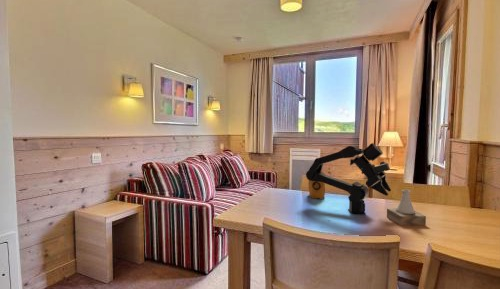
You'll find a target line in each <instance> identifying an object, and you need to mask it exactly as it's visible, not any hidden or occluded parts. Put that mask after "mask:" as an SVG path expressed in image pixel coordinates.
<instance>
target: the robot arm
mask: <svg viewBox="0 0 500 289" xmlns="http://www.w3.org/2000/svg"><path fill="white" fill-rule="evenodd" d="M383 154H384V152H383V151H382V150H381V148H380V147H378V146H377V145H375V143H373V142H372V143H370V144H369V145H368V146H367V147H366V148H359V147H358V146H357V145H349V146H346V147H344V148H343V149H340V150H339V151H336V152H334V153H331V154H328V155H324V156H321V157H317V158H315V159H314V161H313V163H312V164H311V166H310V167H309V168H308V170H307V171H306V173H305V177H306V179H307V180H308V181H309V180H310V181H315V182H323V183H325V184H326V185H329V186H331V187H334V188H337V189H339V190H343V191H344V192H347V193H348V194H349V195H348V198H347V199H348V200H349V201H348V202H349V203H348V208H347V211H348V212H350V214H352V215H366V203H365V200H364V199H365V198H366V197H367V196H369V193H370V190H369V188H370V189H372V190H374V191H376V192H378V193H379V194H381V195H384V196H387V197H388V196H389V193H388V192H392V189H391V187H390V185H389V183H388V180H386V178H387V175H386V174H387V173H386V172H387V171H389V170H391V168H390V166H389V163H388V162H385V161H380V162H379V164H378V165H375V164H374V163H373V164H372V163H371V162H370V161H372V162H373V161H375V160H376V159H377V158H379V157H381V156H382V155H383ZM349 158H353V159H350V160H349V165H350V166H352V165H355V166H356V167H357V168H358V169H359V171H360V172H361V174H362V175H364V176H365V177H366V178H367V179H366V181H365V183H360V182H358V181H355V182H352V183H350V182H347V181H344V180H341V179H338V178H336V177H333V176H330V175H326V173H324V172H323V165H324V164H328V163H331V162H333V161H337V160H340V159H349ZM321 170H322V172H321Z"/></svg>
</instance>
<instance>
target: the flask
mask: <svg viewBox="0 0 500 289" xmlns="http://www.w3.org/2000/svg"><path fill="white" fill-rule="evenodd" d="M401 192H402V195H401V199H400V201H399V203H398V205H397V208H396V209H397V210H396V211H397V212H400V213H404V214H414V213H415V211H416V210H415V209H414V206H413V203H412V201H411V196H410V193H411V190H409V189H402V190H401Z"/></svg>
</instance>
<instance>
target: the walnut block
mask: <svg viewBox="0 0 500 289" xmlns="http://www.w3.org/2000/svg"><path fill="white" fill-rule="evenodd" d="M396 210H397V208H386V217H387V218H388V219H389V220H391V221H393V222H394V223H395V224H397V225H398V226H426V225H427V224H426V222H427V221H426V219H427V215H425V214H422V213H420V212H418V211H417V210H414V211H415V213H414V214H404V213H400V212H397V211H396Z"/></svg>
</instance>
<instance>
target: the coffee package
mask: <svg viewBox="0 0 500 289" xmlns="http://www.w3.org/2000/svg"><path fill="white" fill-rule="evenodd" d="M321 172H323V169H322V170H321ZM325 184H326V183H323V182H315V181H310V180H308V193H309V197H310V198H311V199H315V198H323V199H324V198H325V195H326V186H325Z"/></svg>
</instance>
